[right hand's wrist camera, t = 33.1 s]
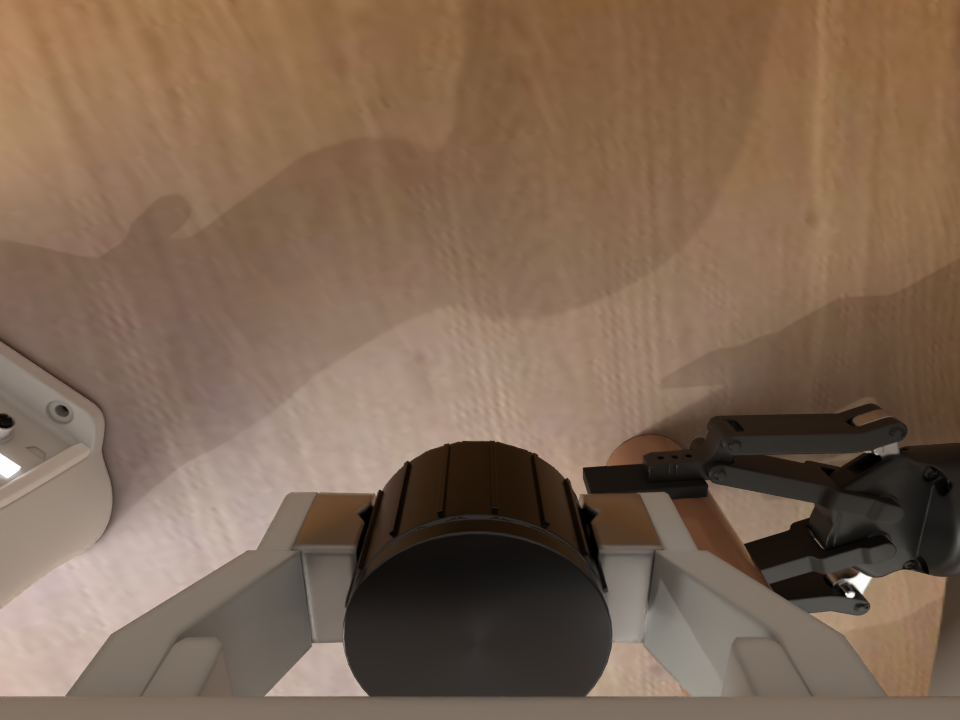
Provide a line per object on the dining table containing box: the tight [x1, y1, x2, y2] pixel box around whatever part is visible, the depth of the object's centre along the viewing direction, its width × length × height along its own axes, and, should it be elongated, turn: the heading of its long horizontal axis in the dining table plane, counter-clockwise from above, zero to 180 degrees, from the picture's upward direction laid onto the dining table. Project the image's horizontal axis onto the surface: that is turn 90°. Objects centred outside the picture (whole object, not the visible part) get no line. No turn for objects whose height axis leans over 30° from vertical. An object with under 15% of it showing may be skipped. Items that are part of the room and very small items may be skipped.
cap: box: [343, 441, 613, 697], centre depth 9 cm, size 4×4×2 cm
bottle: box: [606, 435, 774, 697], centre depth 29 cm, size 6×6×26 cm
